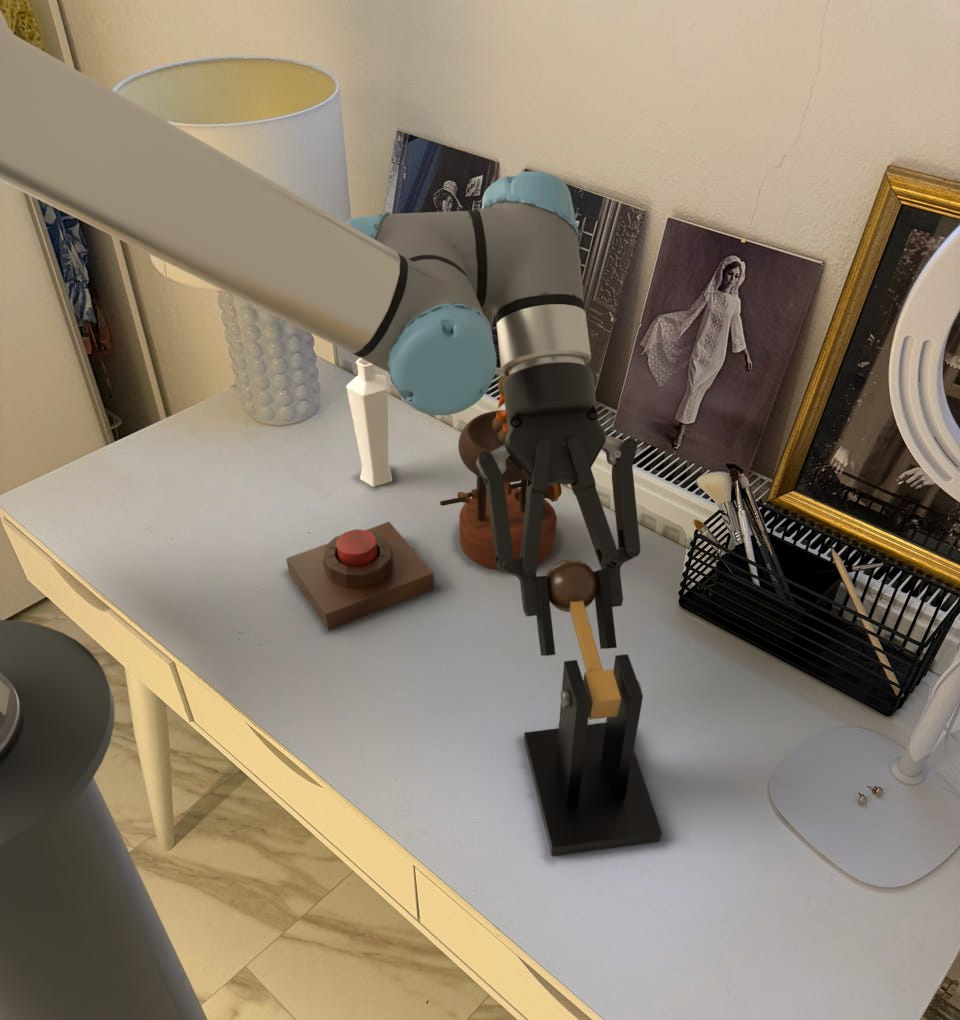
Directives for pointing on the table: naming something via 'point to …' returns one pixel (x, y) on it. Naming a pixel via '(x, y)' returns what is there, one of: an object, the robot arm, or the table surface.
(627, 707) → the lever bracket
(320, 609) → the button housing
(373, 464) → the perfume bottle
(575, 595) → the lever
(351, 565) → the button
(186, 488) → the table surface
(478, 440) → the music box
